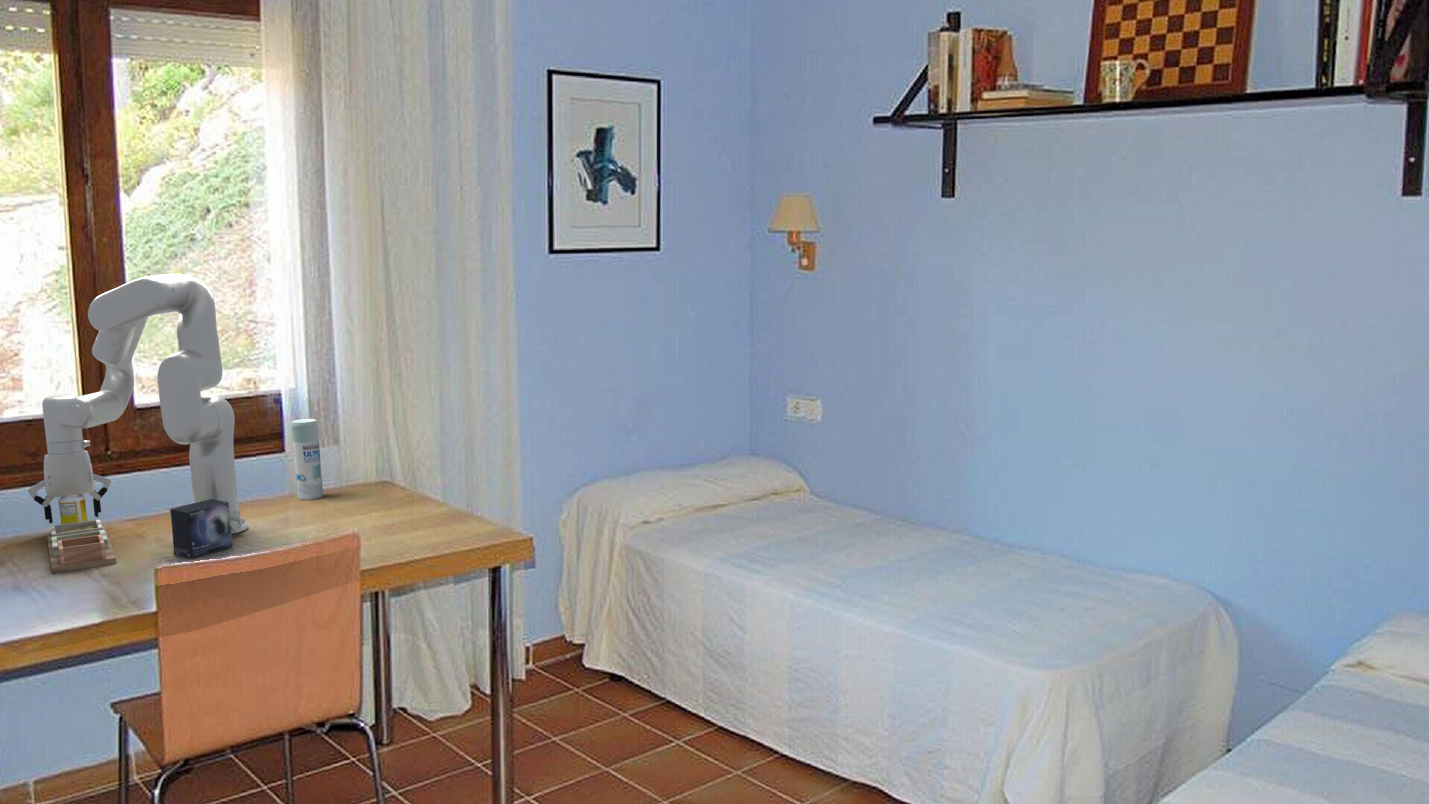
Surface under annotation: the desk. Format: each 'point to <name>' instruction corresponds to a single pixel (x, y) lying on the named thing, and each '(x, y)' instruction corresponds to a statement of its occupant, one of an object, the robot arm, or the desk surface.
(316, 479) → the spray paint can
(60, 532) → the plate
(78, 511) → the supplement bottle
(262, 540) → the desk surface
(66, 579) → the desk surface
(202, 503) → the small box
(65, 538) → the board
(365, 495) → the desk surface
